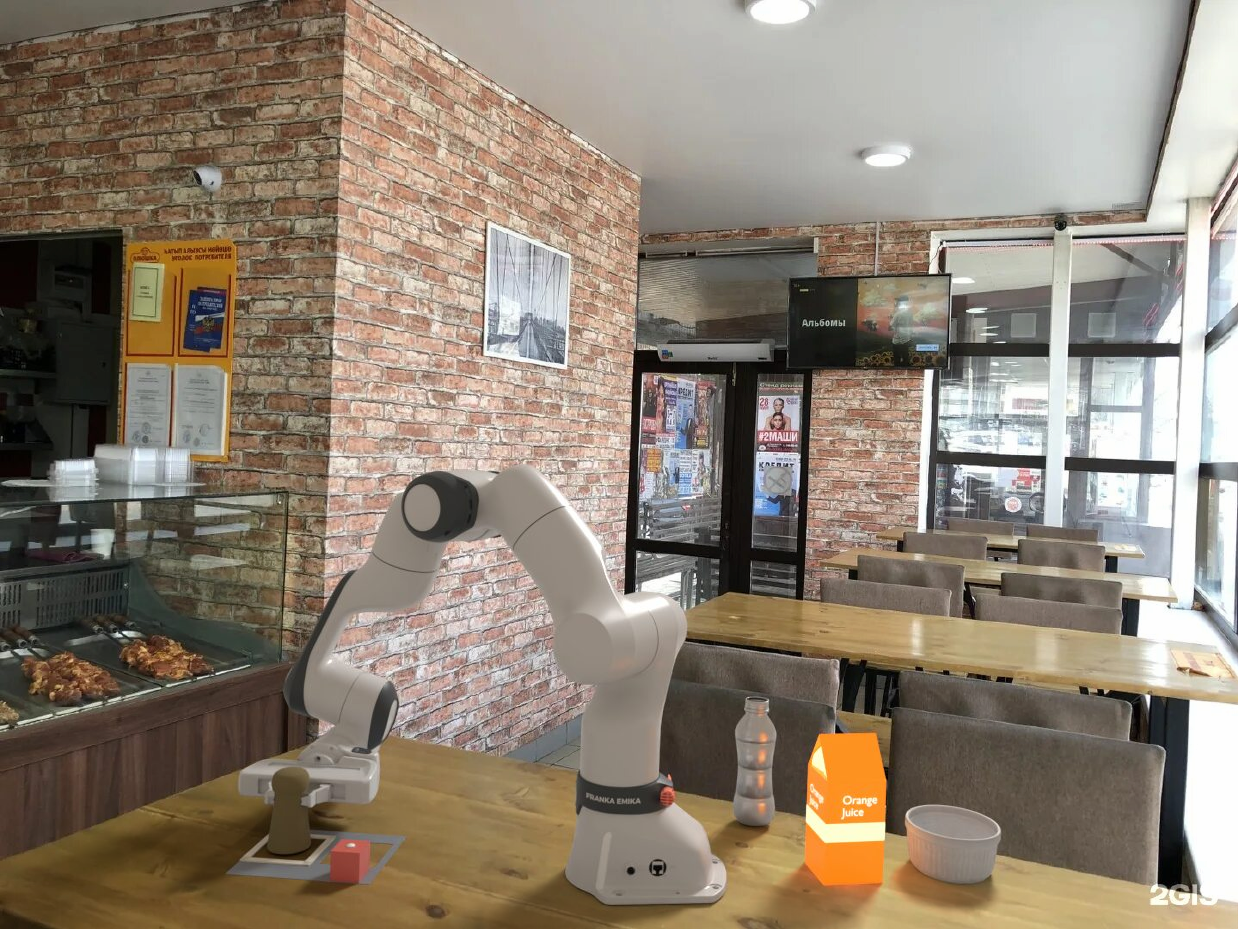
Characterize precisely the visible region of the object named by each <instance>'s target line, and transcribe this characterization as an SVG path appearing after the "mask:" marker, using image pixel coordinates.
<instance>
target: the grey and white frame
mask: <svg viewBox="0 0 1238 929" xmlns="http://www.w3.org/2000/svg"><path fill="white" fill-rule="evenodd" d="M310 836H311V840H324V841H322V843H321V844H320V845H319V846H318V847H317V848H316V849H315V850H314V851H313V852H312V853H311V854H310V856H308V858H307V859H305V860H295V859H294V860H293V859H283V858H282V859H280V858H269V857H268V858H267V857H254V856H255V855H256V854H257V853H258V852H259V851H260V850H261V849H262V848H263V847H265V846H267V845H266V844H268V838H269V833H268V834H267V835H266V836H264V838H262V839H260V841H259V842H258V843H256V844H255V845H254V846H253V847H252V848H251V849H250V850H248V851H247V852H246V853H245V854H244V855H243V856H242V857H241V858H239V861H237V863H235V865H232V867H231V868H230V869H229V870H227V871H226V873H224V875H233V876H234V875H235V876H244V877H245V876H247V877H248V876H249V877H261V878H274V879H286V880H287V879H289V880H300V881H301V880H302V881H314V882H315V881H316V882H326V883H327V882H330V883H343V884H353V885H354V884H355V885H357V884H358V885H368V886H369V885H370V884H371V883H372V882H374V879H375V878H376V877H377V875H378V874H379V873H380V872H381V870H382V869H383V868H384V867H385V865H386V864H387V863H388V862H389V860H390V858H391V857H392V856H393V855H394V854H395V853H396V851H397V850H398V848H399V847H400V846H401V844H402V843H403V842H404V840H405V839H406V838H407V836H406V835H395V834H394V835H393V834H392V835H391V834H379V833H378V834H377V833H367V832H365V833H364V832H363V833H362V832H351V831H350V832H348V831H335V830H334V831H333V830H319V829H317V830H316V829H310ZM341 839H349V840H363V841H370V844H382V845H383V844H384V845H392V846H391V847H390V848H389V849H388V850H387V852H386V853H384V854H385V855H383V856H382V858H381V860H380V861H378V863H377V865H376V866H375V867H373V866H370V868H369V871H368V872H367V874H366V875H365V876H364V877H363V879H362V880H361V881H360V882H359V883H354V882H341V881H330V864H328V863H322V861H323V860H324V859H325V858H326V857H327V856H328V855H329V854H331V850H332V849H333V848H334V847H335V846H336V845H337V844H338V843H339V842H340V841H341Z"/></svg>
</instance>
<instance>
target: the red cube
mask: <svg viewBox="0 0 1238 929" xmlns="http://www.w3.org/2000/svg"><path fill="white" fill-rule="evenodd" d="M329 858H330V881H341V882H354V883H359V882H360V881H361V880H362V879H363V877H364V876H365V875H366V874H367V872H368V871H369V868H370V867H371V866H370V865H371V864H370V862H371V861H370V860H371V843H370V841H363V840H349V839H341V841H340V842H339V843H338V844H337V845H336V846H335V847H334V848H333V849H332V850H331V851H330V857H329Z"/></svg>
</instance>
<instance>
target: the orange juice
mask: <svg viewBox="0 0 1238 929" xmlns="http://www.w3.org/2000/svg"><path fill="white" fill-rule="evenodd" d="M818 734H819V735H818V737H817V740H816V743H815V746H814V748H813V750H812V753H811V756H810V759H809V761H808V764H807V785H806V786H807V790H806V791H807V792H806V794H807V795H806V807H805V808H806V809H805V812H806V813H805V843H804V844H805V847H804V848H805V849H804V851H805V852H804V863H805V865H806V866H807V867H808V868H809V870H810V871H811V872H812V873H813V874H814V875H815V877H816V878H817V879H818V880H819V882H820V883H821V884H822V885H823V886H839V885H841V886H842V885H843V886H845V885H860V884H861V885H862V884H865V885H866V884H883V880H884V879H883V878H884V860H885V859H884V857H885V856H884V854H885V852H884V850H885V837H886V801H887V800H886V799H887V798H886V797H887V779H886V775H885V774H886V773H885V770H884V765H883V759H882V755H881V751H880V745H879V740H878V737H877V736H878V735H877V732H867V733H866V732H861V733H859V732H857V733H856V732H855V733H852V732H851V733H818Z"/></svg>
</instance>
